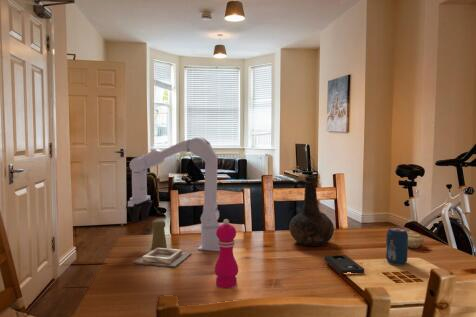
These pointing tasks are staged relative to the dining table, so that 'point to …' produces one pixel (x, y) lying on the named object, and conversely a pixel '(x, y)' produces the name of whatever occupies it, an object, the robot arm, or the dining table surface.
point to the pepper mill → (226, 256)
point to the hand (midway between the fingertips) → (140, 220)
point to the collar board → (163, 257)
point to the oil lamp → (414, 239)
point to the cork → (158, 234)
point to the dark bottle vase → (311, 219)
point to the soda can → (396, 246)
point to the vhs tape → (343, 264)
